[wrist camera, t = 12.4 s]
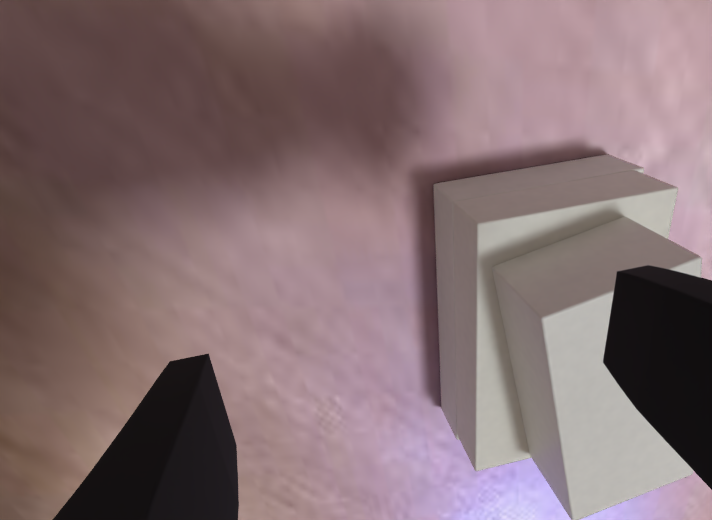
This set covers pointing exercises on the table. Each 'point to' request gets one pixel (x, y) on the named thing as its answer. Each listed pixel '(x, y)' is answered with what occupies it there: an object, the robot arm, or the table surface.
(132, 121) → the table surface
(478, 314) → the cream stack
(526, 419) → the cream rectangular block
